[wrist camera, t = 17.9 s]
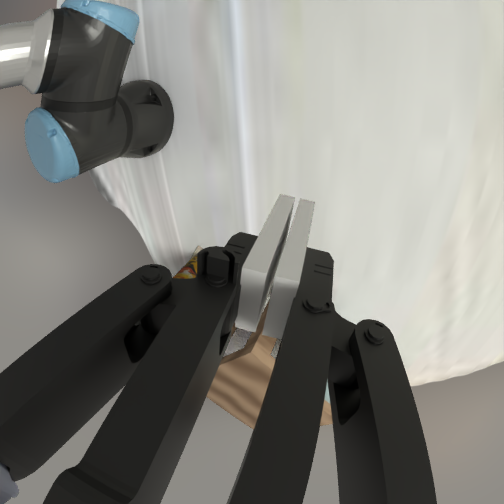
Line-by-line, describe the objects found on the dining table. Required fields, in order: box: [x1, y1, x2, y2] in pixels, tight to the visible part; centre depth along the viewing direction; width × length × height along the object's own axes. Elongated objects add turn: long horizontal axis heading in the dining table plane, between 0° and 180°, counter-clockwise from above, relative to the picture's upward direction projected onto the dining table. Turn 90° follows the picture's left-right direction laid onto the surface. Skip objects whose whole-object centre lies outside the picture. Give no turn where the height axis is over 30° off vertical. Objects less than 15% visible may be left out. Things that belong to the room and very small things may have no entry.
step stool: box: [206, 299, 333, 429], centre depth 53 cm, size 22×22×18 cm
